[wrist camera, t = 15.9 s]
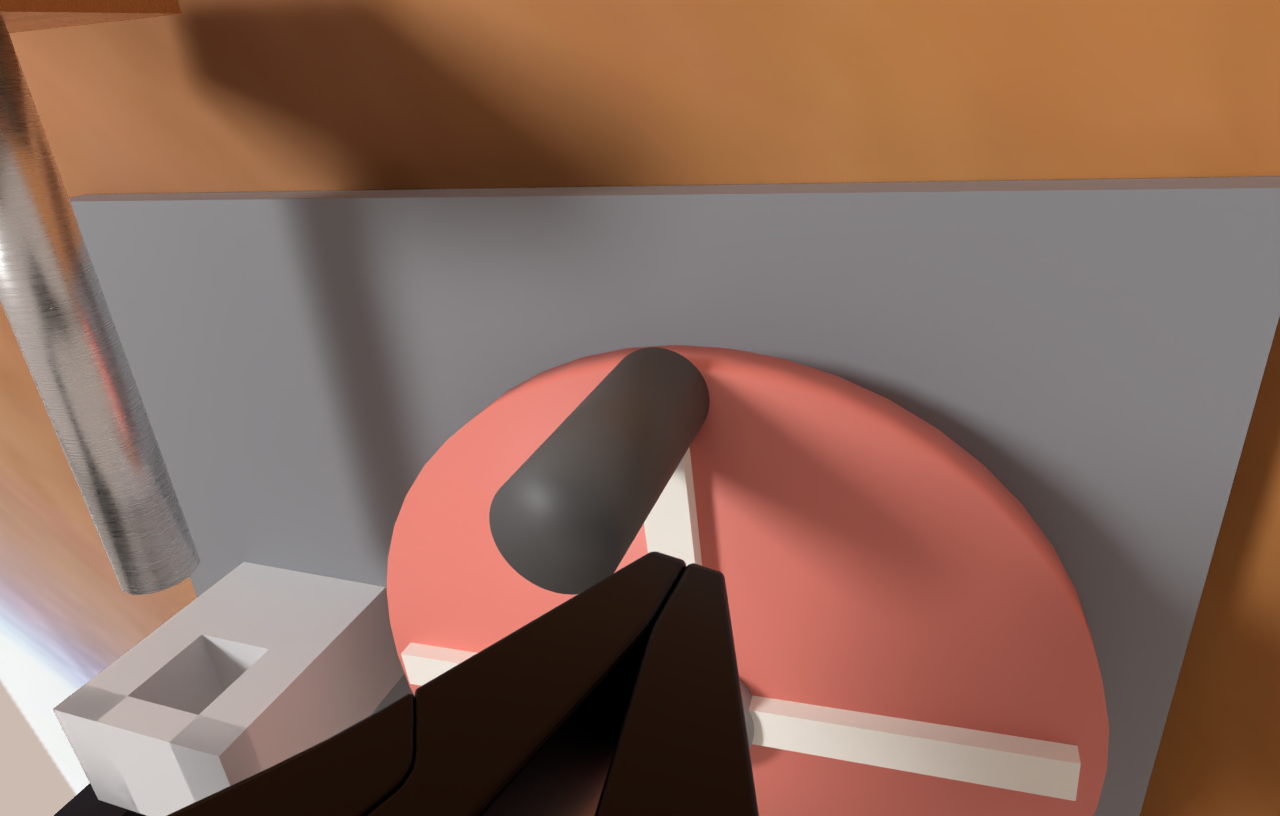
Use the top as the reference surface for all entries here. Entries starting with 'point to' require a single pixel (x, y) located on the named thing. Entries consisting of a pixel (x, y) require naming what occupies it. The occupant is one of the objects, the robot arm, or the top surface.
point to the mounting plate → (643, 317)
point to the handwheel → (777, 574)
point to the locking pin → (81, 324)
